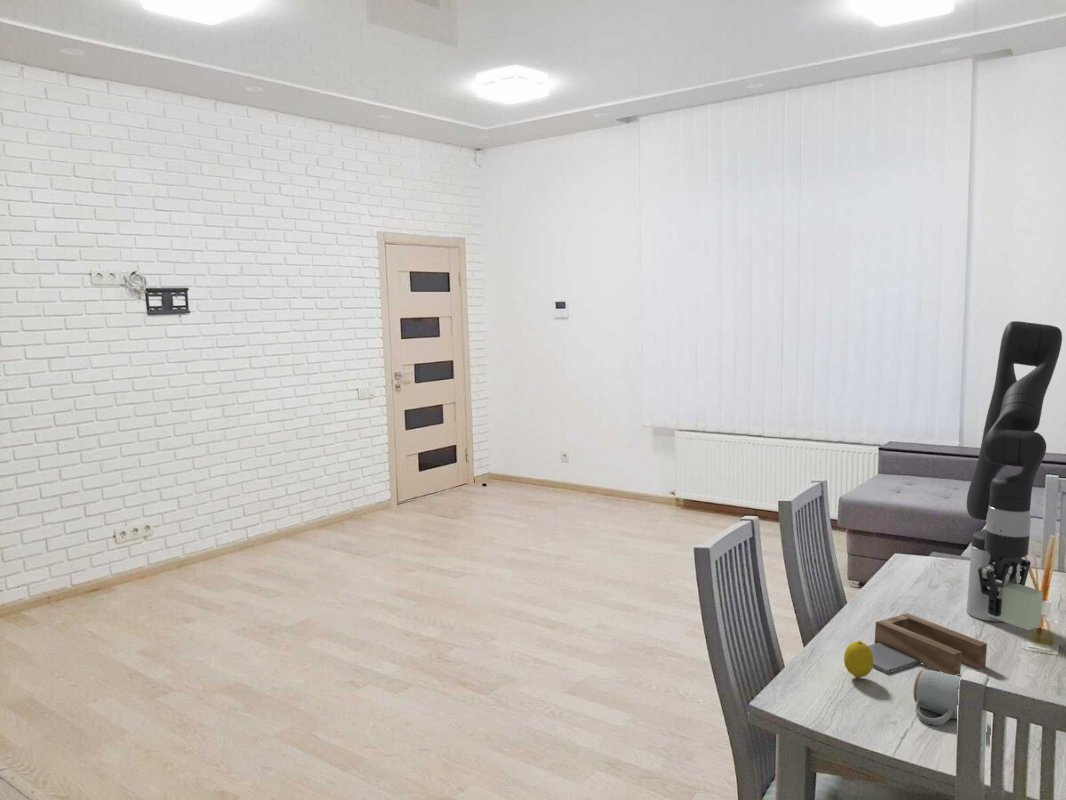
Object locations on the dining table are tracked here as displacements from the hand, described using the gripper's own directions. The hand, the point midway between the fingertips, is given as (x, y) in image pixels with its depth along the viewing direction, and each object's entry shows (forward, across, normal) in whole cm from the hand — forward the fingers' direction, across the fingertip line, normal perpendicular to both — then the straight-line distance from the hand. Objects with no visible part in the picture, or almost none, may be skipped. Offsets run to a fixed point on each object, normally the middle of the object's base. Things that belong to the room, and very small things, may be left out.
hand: (1001, 612), depth 162 cm
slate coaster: (+15, -11, +18) cm, 26 cm away
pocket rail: (+15, 0, +15) cm, 21 cm away
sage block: (+1, 0, -3) cm, 3 cm away
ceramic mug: (+15, -22, -3) cm, 27 cm away
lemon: (+15, -23, +15) cm, 31 cm away
